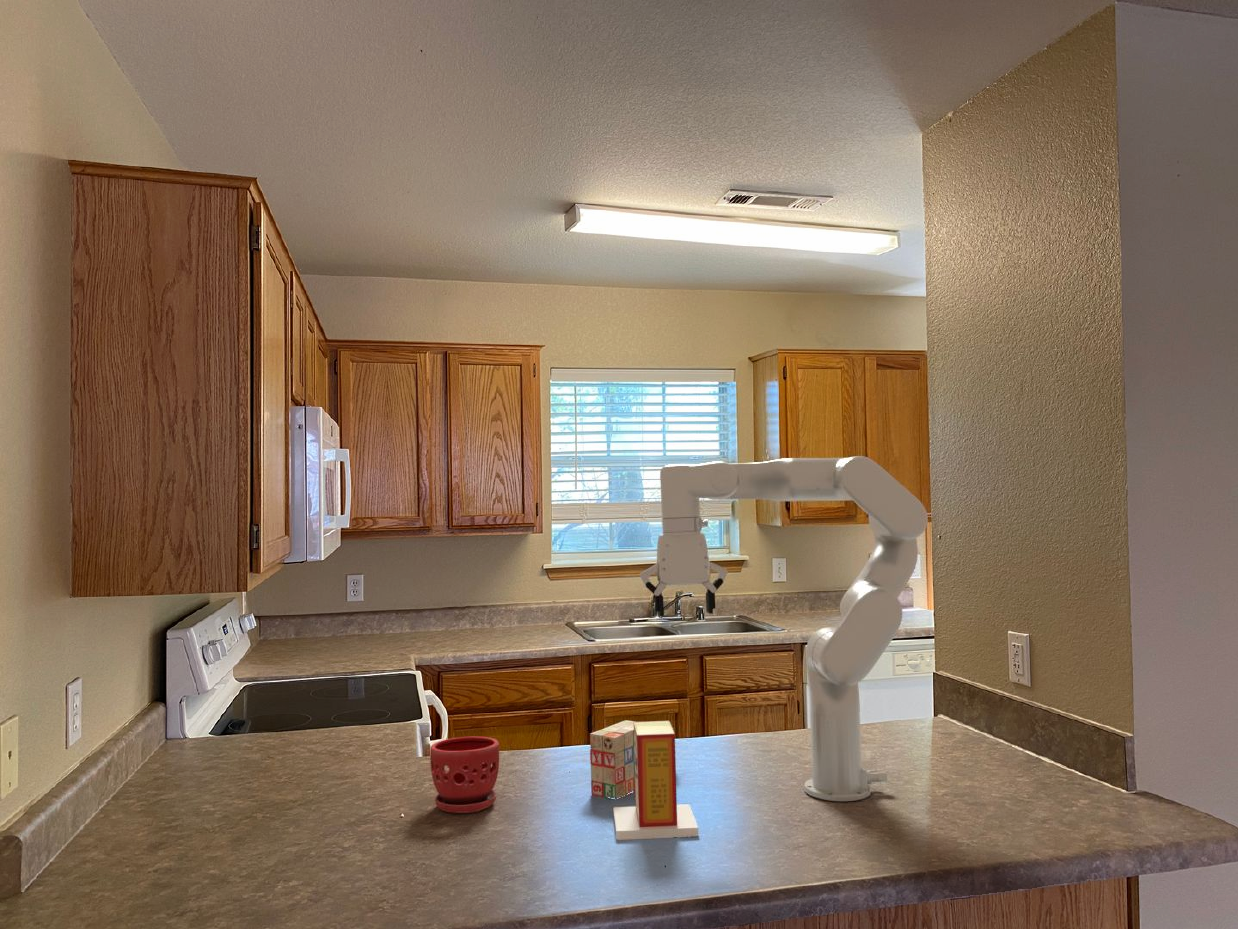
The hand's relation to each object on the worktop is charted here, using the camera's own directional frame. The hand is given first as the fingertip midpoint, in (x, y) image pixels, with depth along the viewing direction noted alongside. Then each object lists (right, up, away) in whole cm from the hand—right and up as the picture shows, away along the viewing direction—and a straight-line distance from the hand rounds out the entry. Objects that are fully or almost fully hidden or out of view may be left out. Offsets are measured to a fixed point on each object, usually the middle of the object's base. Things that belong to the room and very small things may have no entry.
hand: (685, 614), depth 176 cm
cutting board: (-7, -35, -17) cm, 39 cm away
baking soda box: (-6, -33, -17) cm, 38 cm away
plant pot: (-42, -36, -4) cm, 56 cm away
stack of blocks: (-10, -36, +7) cm, 38 cm away
